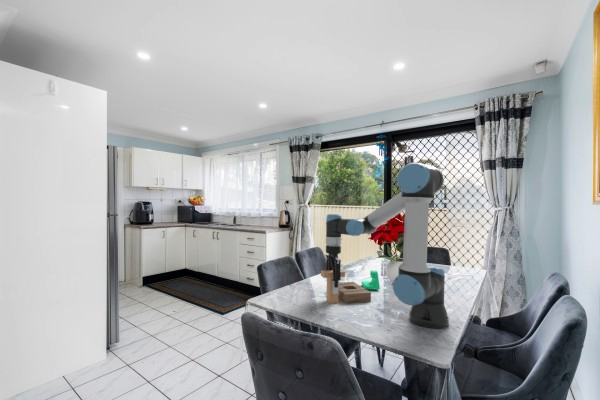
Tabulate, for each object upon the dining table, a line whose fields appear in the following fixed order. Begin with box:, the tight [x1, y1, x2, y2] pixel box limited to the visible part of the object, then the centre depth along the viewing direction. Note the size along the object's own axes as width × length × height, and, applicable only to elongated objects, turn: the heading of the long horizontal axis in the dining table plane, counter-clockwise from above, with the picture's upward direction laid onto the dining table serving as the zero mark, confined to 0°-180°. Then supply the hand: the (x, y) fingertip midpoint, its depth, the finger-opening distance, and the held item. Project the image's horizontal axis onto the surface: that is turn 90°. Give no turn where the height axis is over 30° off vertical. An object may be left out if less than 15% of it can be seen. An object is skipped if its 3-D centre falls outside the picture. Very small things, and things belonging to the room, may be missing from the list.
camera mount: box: [361, 270, 381, 290], centre depth 167 cm, size 12×8×10 cm, turn 0°
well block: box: [338, 281, 372, 304], centre depth 151 cm, size 20×14×4 cm
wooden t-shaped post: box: [320, 269, 346, 304], centre depth 142 cm, size 4×11×15 cm, turn 105°
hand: (332, 291), depth 142 cm, fingers open, 6 cm apart
